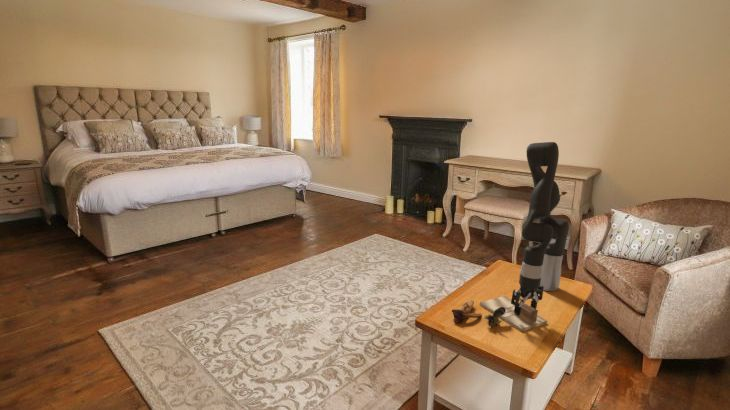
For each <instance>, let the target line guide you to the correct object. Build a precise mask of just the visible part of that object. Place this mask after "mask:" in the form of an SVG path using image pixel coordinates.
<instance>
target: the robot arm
mask: <svg viewBox="0 0 730 410" xmlns="http://www.w3.org/2000/svg"><path fill="white" fill-rule="evenodd" d="M559 153H560V150H559V145H558V144H557V143H556V142H555V141H546V142H533V143H530V144H528V146H527V147H526V159H527V163H528V167H529V171H530V174H531V177H532V182H533V188H534V189H533V190H532V191H531V193H530V197H529V207H528V208H529V209H528V213H527V217H526V220H525V222H524V224H523V226H522V229H521V237H522V238H523V240H524V241H527V242H533V243H538V244H537V245H529V246H526V247H525V248H524V249H523V255H522V256H523V257H522V262H521V263H522V264H521V267H520V273H519V280H518V284H519V285H520V286H519V289H512V295H511V304H513V305H514V306H515V309H514V313H515V314H516V315H518V316H519V315H520V312H521V306H522V304H523V303H525V304H526V302H527V301H528V300H530V305H529V306H531V307H532V308H534V309H536V310H537V307H538V303H539V302H540V301H542V300H543V295H544V291H546V292H556V291H557V290H558V289H559V286H560V282H561V274H562V264H563V263H562V262H563V258H564V257H563V256H564V251H565V248H566V243H567V239H568V234H569V230H570V224H569V222H568V221H566V220H564V219H560V218H555V217H553V216H552V215H551V213H552V212H553V211H554V209H555V208H556V207H557V206H558V205H559V203H560V201H561V193H560V189H559V188H560V187H559V185H558V183H557V182H556V181H555V178H556V174H557V173H556V172H557V167H558V164H559V163H558V162H559V157H560V156H559V155H560V154H559ZM542 167H547V168H546V170H545V171H544V170H543V168H542ZM535 220H539V222H534V221H535ZM552 239H553V240H555V241H554V242H551V241H552ZM550 242H551V243H550Z"/></svg>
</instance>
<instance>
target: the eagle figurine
mask: <svg viewBox="0 0 730 410" xmlns="http://www.w3.org/2000/svg"><path fill="white" fill-rule="evenodd" d="M505 311H506V310H505V308H504V307H500V308H498V309H496V310H495V311H494V314H493V313H492V315H491V314H486V315H485V316H484V317H483V318H484V319H485V320H490V322H488V324H491V327H490V329H493V328H494V326H495V325H496V324H497V325H498V326H501V323H502V322H503V320H499V317H500V316H501V315H504V314H505Z"/></svg>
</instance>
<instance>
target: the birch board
mask: <svg viewBox="0 0 730 410" xmlns="http://www.w3.org/2000/svg"><path fill="white" fill-rule="evenodd" d="M511 300H512V298H509V297H508V296H505V295H502V296H498V297H495V298H491V299H488V300H483V301H480V302H479V306H481V307H482V308H484V309H485V310H487V311H489V312H490V313H492V315H493V314H494V311H495V310H496V309H498V308H500V307H504V308H505V310H506V311H505V314H504V315H501V316H500V317H498V319H501V321H504V322H505V323H506V324H508V325H510V326H512V327H513V328H515V329H516V330H517V331H519V332H525V331H527V330H531V329H534V328H537V327H540V326H543V325H545V324H547V323H548V320H547V319H545V318H544V317H541V316H540V315H539V314H537V320H536V322H535V323H532V324H527V323H525V322H524V321H522V320H521V319H519V318H517V317H516V316H514V315H515V313H514V309H515V306H514V305H513V304H511Z"/></svg>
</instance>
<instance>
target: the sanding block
mask: <svg viewBox="0 0 730 410" xmlns="http://www.w3.org/2000/svg"><path fill="white" fill-rule="evenodd" d="M538 312H539V310H538V309H537V308H536V309H534V308H532V307H531V306H530V305H529V304H527V303H526V302H525V303H523V304H522V306H521V312H520V315H519V316H518V315H516V314H515V315H514V316H516V317H517V318H519V319H521V320H522V321H524V322H525V323H527V324H532V323H535V322H536V320H537V315H538Z"/></svg>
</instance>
